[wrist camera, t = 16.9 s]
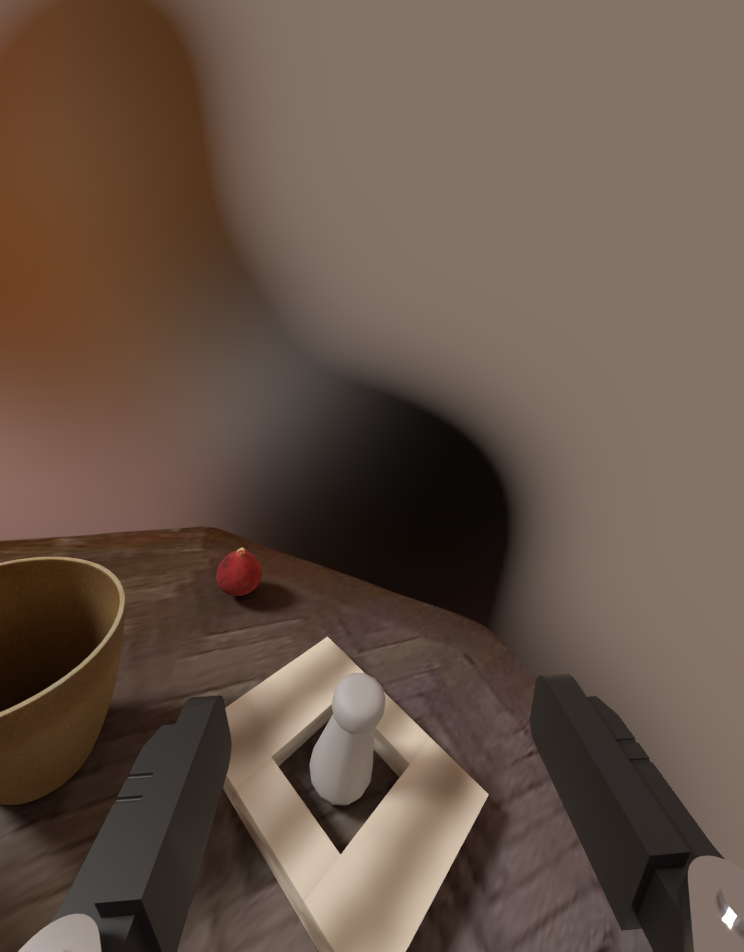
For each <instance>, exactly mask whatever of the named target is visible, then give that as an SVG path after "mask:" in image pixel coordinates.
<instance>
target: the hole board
mask: <svg viewBox="0 0 744 952" xmlns="http://www.w3.org/2000/svg"><path fill="white" fill-rule="evenodd" d="M352 673H364V672H363V671H362V670H361V669H360V668H359V667H358V666H357V665H356V664H355V663H354V662H353V661H352V660H351V659H350V658H349V657H348V656H347V655H346V654H345V653H344V652H343V651H342V650H341V649H340V648H338V647H337V646H336V645H335V644H334V643H333V642H332V641H331V640H330V639H329V638H328V637H326V638H325V639H324V640H322V641H321V642H319V643H318V644H316V645H315V646H313V647H312V648H311V649H309V650H308V651H306V652H305V653H303V654H302V655H301V656H299V657H298V658H296V659H295V660H293V661H292V662H290V663H289V664H288V665H286V666H285V667H283V668H282V669H280V670H279V671H278V672H276V673H275V674H273V675H272V676H270V677H269V678H267V679H266V680H265V681H263V682H262V683H260V684H259V685H257V686H256V687H255V688H253V689H252V690H250V691H249V692H247V693H246V694H244V695H243V696H242V697H240V698H239V699H237V700H236V701H234V702H233V703H232V704H230V705H229V706H227V707H226V708H225V710H226V714H227V719H228V724H229V729H230V734H231V741H232V748H231V758H230V764H229V768H228V772H227V775H226V779H225V782H224V786H223V790H224V791H225V793H226V795H227V796H228V798H229V800H230V802H231V803H232V805H233V807H234V808H235V810H236V812H237V813H238V815H239V817H240V819H241V820H242V822H243V824H244V825H245V827H246V829H247V830H248V832H249V834H250V835H251V837H252V839H253V841H254V842H255V844H256V846H257V847H258V849H259V851H260V852H261V854H262V856H263V858H264V859H265V861H266V863H267V864H268V866H269V868H270V869H271V871H272V873H273V874H274V876H275V878H276V880H277V881H278V883H279V885H280V886H281V888H282V890H283V891H284V893H285V895H286V897H287V898H288V900H289V902H290V903H291V905H292V907H293V908H294V910H295V912H296V913H297V915H298V917H299V919H300V920H301V922H302V924H303V925H304V927H305V929H306V930H307V932H308V934H309V936H310V937H311V939H312V941H313V942H314V944H315V946H316V947H317V949H318V951H319V952H406V950H407V949H408V947H409V945H410V943H411V941H412V939H413V937H414V935H415V933H416V931H417V930H418V928H419V926H420V924H421V922H422V920H423V918H424V916H425V914H426V913H427V911H428V909H429V907H430V905H431V903H432V901H433V899H434V897H435V896H436V894H437V892H438V890H439V888H440V886H441V884H442V882H443V880H444V878H445V877H446V875H447V873H448V871H449V869H450V867H451V865H452V863H453V861H454V860H455V858H456V856H457V854H458V852H459V850H460V848H461V846H462V844H463V843H464V841H465V839H466V837H467V835H468V833H469V831H470V829H471V827H472V825H473V824H474V822H475V820H476V818H477V816H478V814H479V812H480V810H481V808H482V807H483V805H484V803H485V801H486V799H487V797H488V795H489V794H488V793H487V792H486V791H485V790H484V789H483V788H482V787H481V786H479V785H478V784H477V783H476V782H475V781H474V780H473V779H472V778H471V777H470V776H469V775H468V774H467V773H466V772H465V771H464V770H463V769H462V768H461V767H460V766H459V765H458V764H457V763H456V762H455V761H454V760H453V759H452V758H451V757H450V756H449V755H448V754H447V753H446V752H445V751H444V750H443V749H442V748H441V747H440V746H439V745H438V744H437V743H436V742H435V741H434V740H432V739H431V738H430V737H429V736H428V735H427V734H426V733H425V732H424V731H423V730H422V729H421V728H420V727H419V726H418V725H417V724H416V723H415V722H414V721H413V720H412V719H411V718H410V717H409V716H408V715H407V714H406V713H405V712H404V711H403V710H402V709H401V708H400V707H399V706H398V705H397V704H396V703H395V702H394V701H393V700H392V699H391V698H390V697H389V696H388V695H387V694H385V693H384V694H385V697H386V700H385V709H384V715H383V717H382V719H381V721H380V722H379V724H378V725H377V727H376V728H375V729H374V750H375V751H376V752H377V753H378V755H379V756H380V757H381V758H382V759H383V760H384V761H385V762H386V763H387V765H388V766H389V767H390V768H391V769H392V770H393V771H394V772H395V773H396V775H397V776H398V777H399V779H398V780H397V782H396V783H395V784H394V786H393V787H392V788H391V790H390V791H389V792H388V794H387V795H386V796H385V797H384V799H383V800H382V801H381V803H380V804H379V805H378V807H377V808H376V809H375V810H374V812H373V813H372V814H371V816H370V817H369V818H368V820H367V821H366V822H365V823H364V825H363V826H362V827H361V829H360V830H359V831H358V833H357V834H356V835H355V836H354V838H353V839H352V840H351V842H350V843H349V844H348V846H347V847H346V848H345V850H344V851H343V852H342V853H341V855H340V853H339V852H338V850H337V849H336V848H335V846H334V845H333V843H332V842H331V841H330V839H329V838H328V836H327V835H326V833H325V832H324V831H323V829H322V828H321V826H320V825H319V824H318V822H317V821H316V819H315V818H314V816H313V815H312V814H311V812H310V811H309V809H308V808H307V807H306V805H305V804H304V802H303V801H302V800H301V798H300V797H299V795H298V794H297V792H296V791H295V790H294V788H293V787H292V785H291V784H290V783H289V781H288V780H287V778H286V777H285V776H284V774H283V773H282V771H281V770H280V768H279V766H280V765H281V764H282V763H283V762H284V761H285V760H286V759H287V758H289V757H290V756H291V755H292V754H293V753H294V752H295V751H296V750H297V749H298V748H299V747H301V746H302V745H303V744H304V743H305V742H306V741H307V740H308V739H309V738H310V737H311V736H313V735H314V734H315V733H316V732H317V731H318V730H319V729H320V728H321V727H322V726H323V725H325V724H326V723H327V722H328V721H329V720H330V718H331V717H332V715H333V709H332V699H333V695H334V691H335V688H336V686H337V684H338V683H339V682H340V681H341V680H342V679H343V678H344V677H345V676H347V675H350V674H352Z"/></svg>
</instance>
